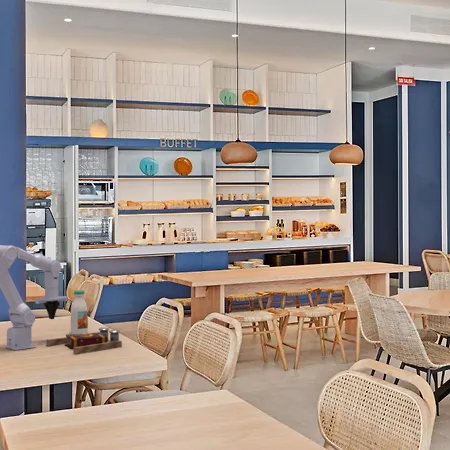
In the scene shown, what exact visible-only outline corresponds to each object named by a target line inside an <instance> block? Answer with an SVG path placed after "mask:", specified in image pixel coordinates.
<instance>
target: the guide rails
mask: <svg viewBox="0 0 450 450" xmlns="http://www.w3.org/2000/svg"><path fill="white" fill-rule="evenodd" d="M66 343H67V337H66V336H65V337H58V338H51V339H46V346H47V347H54V346H61V345H65V344H66ZM122 343H123V341H122V340H119V341H113V342H110V341H108V342H107V343H100V344H94V345H87V346H81V347H74V348H73V349H72V350H73V351H72V354H73V355H80V354H81V353H82V354H87V352H88V353H93V351H94V352H100V351H106V350H112V348H113V349H118V347H119V348H122V347H123V344H122ZM60 344H61V345H60ZM53 345H54V346H53Z"/></svg>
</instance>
